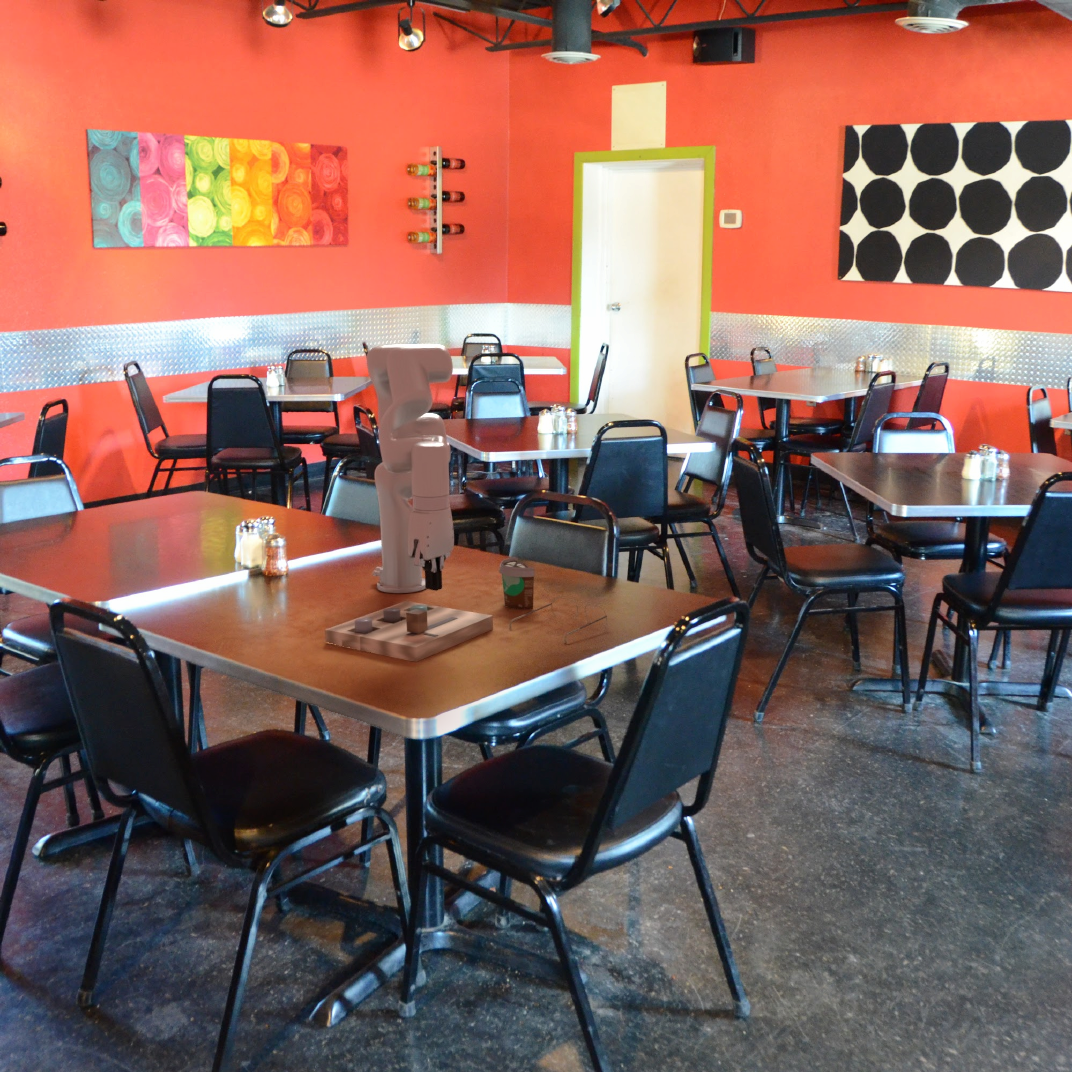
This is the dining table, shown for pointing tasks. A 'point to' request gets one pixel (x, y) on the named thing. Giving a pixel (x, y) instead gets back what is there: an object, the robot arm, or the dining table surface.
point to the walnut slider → (416, 621)
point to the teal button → (419, 607)
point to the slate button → (363, 625)
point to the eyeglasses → (572, 618)
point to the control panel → (397, 642)
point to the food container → (517, 584)
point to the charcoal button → (391, 615)
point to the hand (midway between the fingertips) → (433, 588)
